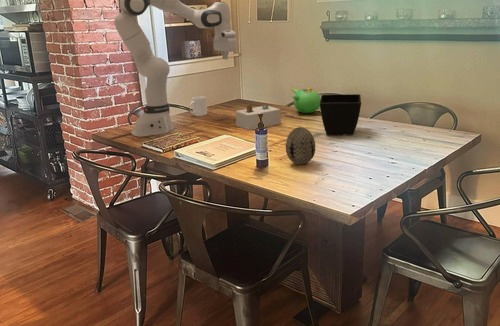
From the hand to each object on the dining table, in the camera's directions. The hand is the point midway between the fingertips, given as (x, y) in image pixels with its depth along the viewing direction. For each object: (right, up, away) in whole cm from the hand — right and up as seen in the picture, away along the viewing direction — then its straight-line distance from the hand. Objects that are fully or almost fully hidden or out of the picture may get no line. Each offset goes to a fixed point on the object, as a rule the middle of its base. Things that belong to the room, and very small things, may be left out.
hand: (225, 59), depth 252 cm
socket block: (+18, -36, -4) cm, 41 cm away
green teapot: (+47, -28, +16) cm, 57 cm away
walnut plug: (+14, -35, -8) cm, 38 cm away
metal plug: (+22, -35, -2) cm, 42 cm away
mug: (-18, -28, +27) cm, 43 cm away
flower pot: (+58, -42, -28) cm, 77 cm away
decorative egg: (+34, -58, -69) cm, 96 cm away
